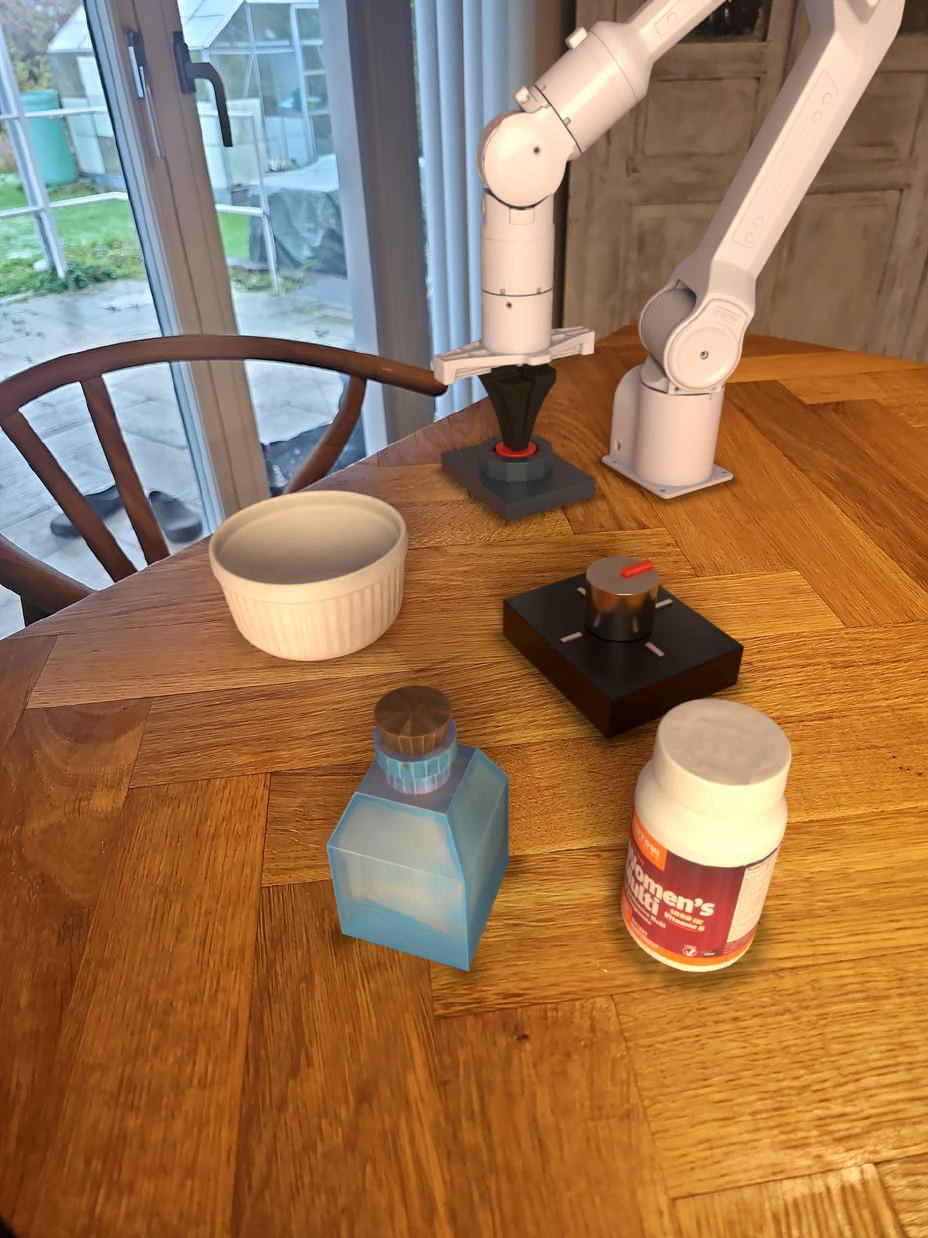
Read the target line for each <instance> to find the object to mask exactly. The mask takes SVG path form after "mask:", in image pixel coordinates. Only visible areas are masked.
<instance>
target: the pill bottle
mask: <svg viewBox="0 0 928 1238" xmlns="http://www.w3.org/2000/svg"><path fill="white" fill-rule="evenodd" d="M658 723H659V724H658V726H657V730H656V735H655V741H654V746H653V750H652V751H653V752H652V758H651V759H649V760H648V761H647V763H646V764H645V765H644V767H643V768H642V769H641V771H640V773H639V775H638V778H637V780H636V785H635V789H634V794H633V803H632V813H631V820H630V827H629V835H628V839H627V840H628V841H627V847H626V848H627V849H626V855H625V863H624V871H623V878H622V884H621V885H622V886H621V892H620V893H621V894H620V909H621V915H622V919H623V922H624V925H625V927H626V929H627V931H628V933H629V934H630V936H631V938H633V940H634V941H635V943H636V944H637V945H638V946H639V948H641V949H643V951H644V952H645V953H647V954H648V955H649V956H651V957H653V958H654V959H656V960H657V961H659V962H661V963H663V964H665V965H667V966H669V967H672V968H675V969H678V970H680V971H684V972H699V973H700V972H701V973H703V972H711V971H716V970H720V969H723V968H726V967H728V966H730V965H732V964H734V963H735V962H737V961H738V960H739V959H740V958H741V957H743V956H744V954H745V953H746V952H747V951H748V950H749V948H750V946H751V944H752V943H753V940H754V937H755V935H756V931H757V929H758V925H759V923H760V919H761V915H762V912H763V908H764V904H765V901H766V897H767V894H768V891H769V887H770V884H771V880H772V877H773V874H774V873H773V872H774V870H775V866H776V863H777V860H778V855H779V852H780V849H781V846H782V842H783V839H784V836H785V833H786V832H785V831H786V828H787V825H788V817H789V815H788V814H789V813H788V803H787V797H786V795H785V793H784V792H785V789H786V785H787V781H788V775H789V771H790V767H791V763H792V756H793V755H792V754H793V753H792V747H791V743H790V740H789V738H788V735H787V734H786V733H785V731H784V730H783V729H782V727H781V726H780V725H779V724H778V723H777V722H776V721H775V720H774V719H773V718H771V717H770V716H769V715H767V714H765V713H764V712H762V710H761V711H760V710H759V709H757V708H755V707H752V706H750V705H747V704H745V703H742V702H738V701H734V700H729V699H724V698H703V699H698V700H692V701H688V702H685V703H682V704H680V705H678V706H676V707H674V708H673V709H671V710H670V711H669V712H667V713H666V714H665V715H664V716H662V718H661V720H660V722H658Z"/></svg>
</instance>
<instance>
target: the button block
mask: <svg viewBox="0 0 928 1238" xmlns="http://www.w3.org/2000/svg"><path fill="white" fill-rule="evenodd" d="M501 441H503V439H502V435H501V433H500V434H497V435H491V436H489V437H488V438H486V439H485V440H483V441H482V442H481V443H478V444H475V445H471V446H467V447H461V448H459V449H455V450H451V451H447V452H442V453H441V454H440V457H441V458H440V461H441V463H440V464H441V471H443V473H445V474H446V475H448V476H449V477H450V478H451V479H452V480H454V482H456V483H458V484H459V485H460V486H461V487H462V488H464V490H466V491H468V492H469V493H470V494H471V495H473V496H474V497H475V498H476V499H477V500H479V501H480V502H482V504H484V505H485V506H486V507H488V508H489V509H490V510H491V511H493V512H494V513H495V514H496V515H498V516H499V517H500V518H501V519H503V520H504V521H505V522H507V523H509V522H512V521H515V520H519V519H522V518H526V517H529V516H533V515H535V514H540V513H543V512H546V511H549V510H553V509H556V508H560V507H563V506H566V505H570V504H573V503H576V502H579V501H583V500H586V499H590V498H594V497H595V496H596V495H595V494H596V493H595V492H596V481H597V480H596V479H595V478H594V477H592V476H591V475H589V474H588V473H587V472H585V471H583V470H581V469H580V468H578V467H577V466H575V465H574V464H573V463H570V462H569V461H567V460H565V459H564V458H563V457H561V456H559V455H558V454H556V453H555V452H554V449H553V443H552V442H551V441H549V440H548V439H546V438H544V437H543V436H541V435H537V434H533V433H532V434H531V438H530V441H531V442H533V443H534V444H535V445H536V453H535V454H533V455H529V456H525V457H506V456H501V455H498V454H497V453H496V445H497V444H498V443H499V442H501Z"/></svg>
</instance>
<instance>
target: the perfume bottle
mask: <svg viewBox="0 0 928 1238" xmlns="http://www.w3.org/2000/svg"><path fill="white" fill-rule="evenodd" d="M452 714H453V705H452V701H451V699H450V698H449V696H448V695H447V694H446V693H444V692H443V691H441V690H440V689H438V688H435V687H432V686H430V685H422V684H410V685H403V686H400V687H396V688H393V689H391V690H390V691H388V692H386V693H384V694H383V695H382V696H381V697H380V698H379V700H377V702H376V703H375V706H374V709H373V717H374V718H373V719H374V721H375V726H374V729H373V731H372V738H373V748H374V756H375V757H374V759H373V761H372V763H371V764H370V766H369V768H368V770H367V771H366V773H365V775H364V776H363V778H362V779H361V781H360V783H359V785H358V787H357V788H356V790H355V791H354V793H353V795H352V797H351V798H350V801H349V802H348V804H347V807H346V809H345V810H344V812H343V814H342V815H341V818H340V819H339V821H338V822H337V825H336V827H335V828H334V830H333V832H332V834H331V836H330V838H329V840H328V842H327V843H326V850H327V851H326V852H327V856H328V863H329V867H330V873H331V879H332V884H333V889H334V895H335V900H336V907H337V911H338V916H339V917H338V918H339V922H340V929H341V934H342V935H346V936H349V937H353V938H356V939H359V940H362V941H366V942H369V943H372V944H376V945H379V946H382V947H386V948H389V949H392V950H395V951H398V952H402V953H404V954H405V953H406V954H409V955H412V956H415V957H417V958H418V957H419V958H422V959H425V960H429V961H432V962H436V963H439V964H442V965H445V966H448V967H451V968H455V969H459V970H462V971H465V972H469V971H470V968H471V966H472V963H473V960H474V957H475V955H476V952H477V949H478V948H479V944H480V941H481V938H482V936H483V933H484V931H485V928H486V925H487V924H488V923H487V922H488V920H489V917H490V914H491V912H492V909H493V906H494V904H495V902H496V898H497V895H498V893H499V890H500V888H501V885H502V882H503V879H504V876H505V874H506V872H507V868H508V867H509V814H510V812H509V811H510V810H509V805H510V801H509V800H510V797H509V796H510V795H509V793H510V775H508V774H507V773H506V772H505V771H504V770H503V769H501V767H499V765H498V764H496V762H494V761H493V760H492V759H491V758H489V756H488V755H486V754H485V753H484V752H483V751H482V750H481V749H480V748H478V747H476V746H472V745H467V744H463V743H459V742H458V731H457V725H456V722H455V721H454V720H453V718H452Z"/></svg>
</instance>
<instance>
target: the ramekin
mask: <svg viewBox="0 0 928 1238" xmlns="http://www.w3.org/2000/svg"><path fill="white" fill-rule="evenodd" d="M408 534H409V533H408V528H407V523H406V520H405V518H404V516H403V515H402V514H401V513H400V512H399V510H397V509H396V508H395V507H394V506H393V505H391V504H389V503H388V502H386V501H385V500H382V499H380V498H378V497H374V496H371V495H369V494H364V493H358V492H355V491H347V490H339V489H337V490H336V489H328V490H327V489H321V490H317V489H315V490H307V491H305V490H304V491H298V492H290V493H286V494H281V495H277V496H274V497H269V498H267V499H263V500H261V501H257V502H254V503H252V504H250V505H248V506H246V507H244V508H242V509H240V510H238V511H237V512H234V513H233V514H232V515H230V516H229V517H228V518H226V519H224V521H223V522H221V524H219V525H218V526H217V527H216V529H215V530H214V531H213V534H212V535H211V537H210V539H209V542H208V556H209V562H210V568H211V570H212V573H213V575H214V577H215V578H216V580H217V581H218V582H219V584H220V587H221V589H222V592H223V595H224V599H225V601H226V603H227V606H228V608H229V611H230V614H231V616H232V619H233V621H234V623H235V626H236V627H237V629H238V632H240V634H241V635H242V636H243V637H244V638H245V640H247V641H248V642H249V643H250V644H251V645H253V646H255V647H256V648H258V649H259V650H261V651H263V652H265V653H267V654H268V655H270V656H274V657H277V658H280V659H285V660H290V661H302V662H313V661H315V662H316V661H326V660H331V659H335V658H340V657H343V656H348V655H351V654H354V653H355V652H358V651H360V650H363V649H365V648H366V647H368V646H370V645H371V644H373V643H375V642H376V641H377V640H378V639H380V638H381V637H382V636H383V635H384V634H385V633H386V632H387V631H388V630H389V629H390V627H391V626H393V623H394V622H395V621H396V619H397V617H398V615H399V613H400V611H401V608H402V602H403V598H404V597H403V596H404V584H405V562H406V561H405V559H406V558H405V557H406V555H407V553H408V548H409V535H408Z"/></svg>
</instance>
